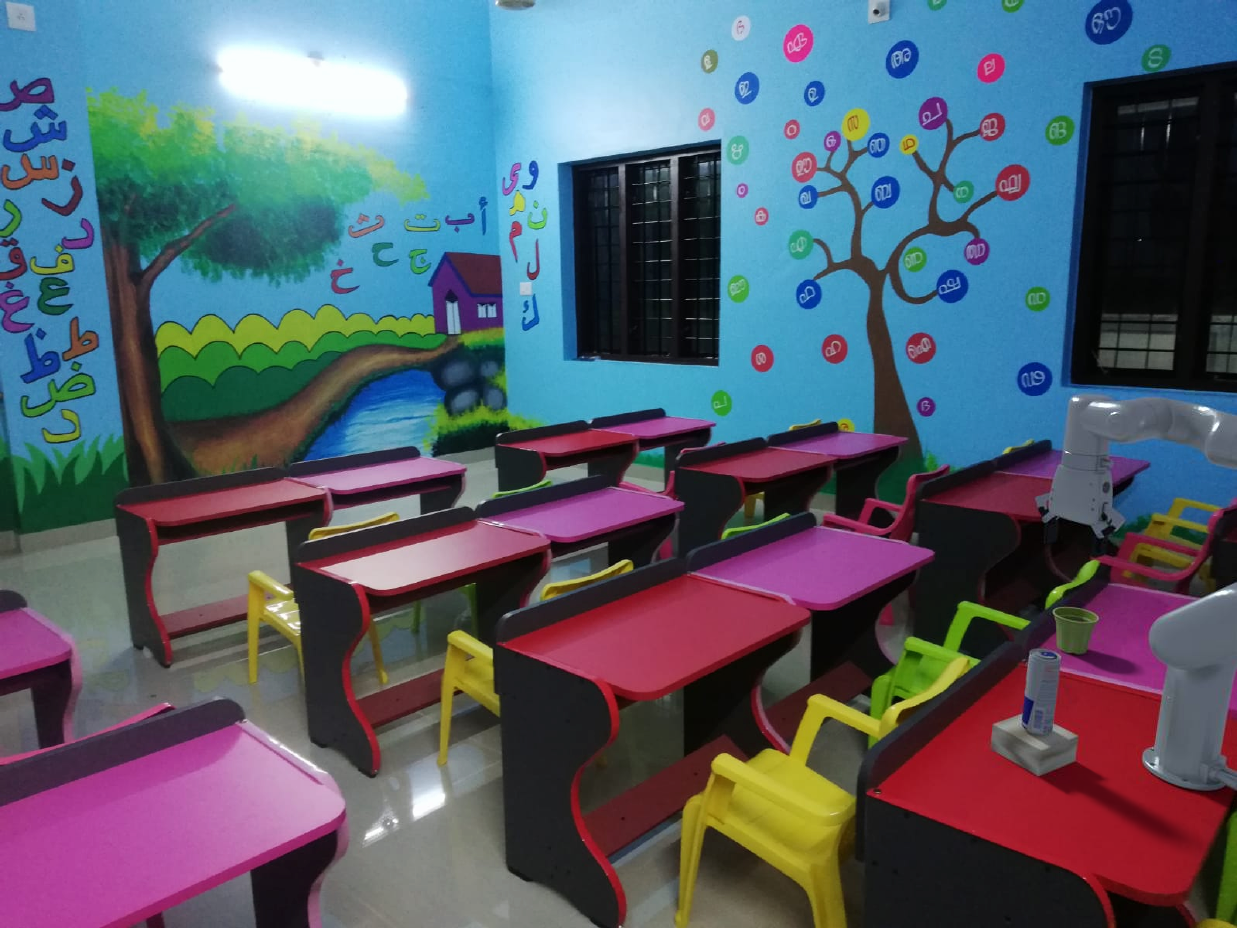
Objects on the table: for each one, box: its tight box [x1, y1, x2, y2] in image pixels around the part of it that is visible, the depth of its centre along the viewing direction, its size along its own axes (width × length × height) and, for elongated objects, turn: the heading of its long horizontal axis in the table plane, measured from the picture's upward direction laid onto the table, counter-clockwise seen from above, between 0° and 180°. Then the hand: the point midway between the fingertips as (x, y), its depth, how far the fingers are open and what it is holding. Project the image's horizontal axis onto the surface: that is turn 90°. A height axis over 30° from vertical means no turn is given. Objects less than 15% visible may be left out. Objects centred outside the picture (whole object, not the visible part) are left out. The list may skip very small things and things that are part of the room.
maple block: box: [990, 713, 1079, 777], centre depth 158 cm, size 10×10×5 cm
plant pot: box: [1052, 606, 1100, 655], centre depth 201 cm, size 9×9×9 cm
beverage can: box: [1021, 648, 1062, 736], centre depth 156 cm, size 5×5×15 cm
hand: (1073, 549), depth 165 cm, fingers open, 9 cm apart
